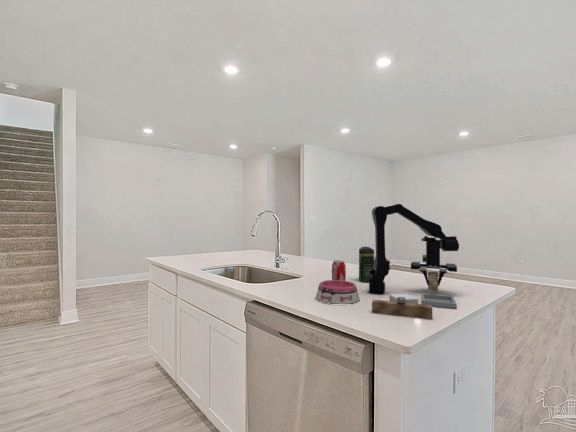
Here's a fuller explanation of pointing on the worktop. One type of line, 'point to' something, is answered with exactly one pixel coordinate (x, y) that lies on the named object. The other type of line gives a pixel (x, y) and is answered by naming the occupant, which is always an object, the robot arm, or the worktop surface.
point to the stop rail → (402, 308)
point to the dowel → (433, 281)
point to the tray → (439, 301)
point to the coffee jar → (365, 263)
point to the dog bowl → (337, 292)
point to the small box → (407, 297)
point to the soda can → (338, 270)
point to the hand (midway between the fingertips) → (433, 285)
